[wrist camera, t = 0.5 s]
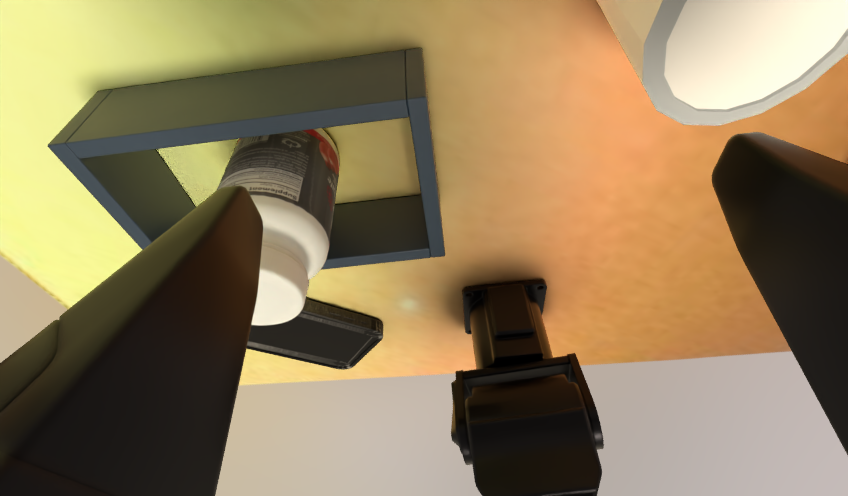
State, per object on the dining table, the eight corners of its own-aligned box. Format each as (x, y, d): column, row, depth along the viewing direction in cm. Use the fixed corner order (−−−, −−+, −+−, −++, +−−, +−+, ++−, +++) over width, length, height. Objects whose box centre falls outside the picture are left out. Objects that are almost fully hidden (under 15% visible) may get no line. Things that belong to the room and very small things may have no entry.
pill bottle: (343, 193, 26) (325, 336, 19) (251, 189, 25) (201, 335, 19) (338, 112, 22) (314, 258, 15) (228, 106, 21) (155, 254, 15)
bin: (439, 202, 27) (445, 256, 24) (198, 229, 27) (175, 285, 24) (422, 46, 20) (426, 96, 16) (97, 90, 20) (46, 145, 17)
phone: (348, 371, 40) (175, 333, 34) (349, 360, 41) (180, 321, 35) (388, 333, 36) (196, 280, 29) (388, 321, 36) (201, 267, 30)
